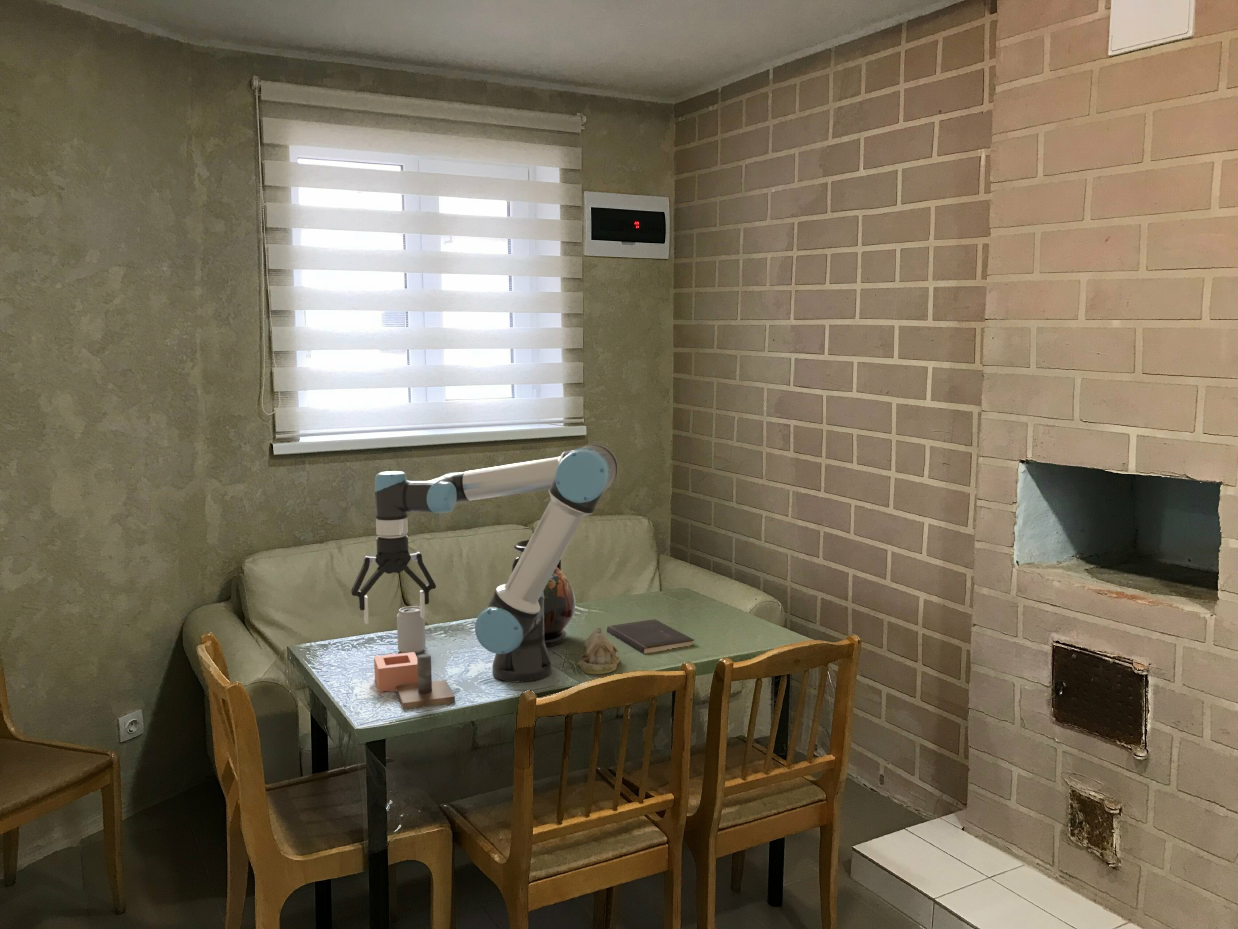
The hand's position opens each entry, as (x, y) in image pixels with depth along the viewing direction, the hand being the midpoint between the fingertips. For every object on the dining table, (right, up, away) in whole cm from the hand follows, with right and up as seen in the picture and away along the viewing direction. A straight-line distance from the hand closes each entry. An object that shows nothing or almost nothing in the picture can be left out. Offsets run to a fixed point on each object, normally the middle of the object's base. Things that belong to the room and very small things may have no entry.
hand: (394, 620), depth 239 cm
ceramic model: (+50, -15, +15) cm, 54 cm away
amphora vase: (+32, -12, +37) cm, 50 cm away
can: (-2, -13, +28) cm, 31 cm away
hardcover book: (+64, -12, +38) cm, 75 cm away
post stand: (+9, -17, -8) cm, 21 cm away
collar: (0, -16, +2) cm, 16 cm away
